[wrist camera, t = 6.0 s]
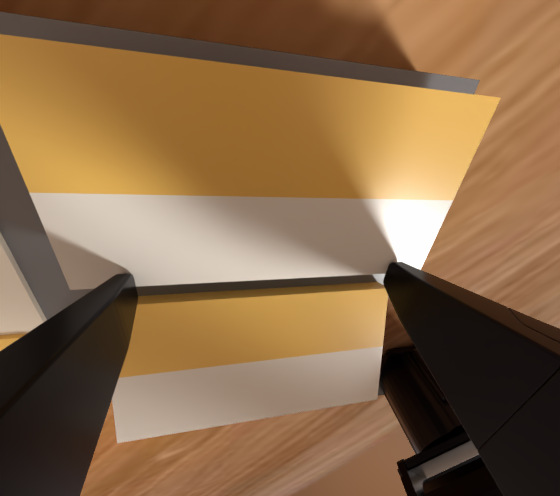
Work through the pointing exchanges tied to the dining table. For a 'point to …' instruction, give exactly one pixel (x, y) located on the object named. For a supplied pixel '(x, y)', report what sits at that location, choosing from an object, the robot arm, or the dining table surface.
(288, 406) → the switch
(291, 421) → the dining table surface
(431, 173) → the switch
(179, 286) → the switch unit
